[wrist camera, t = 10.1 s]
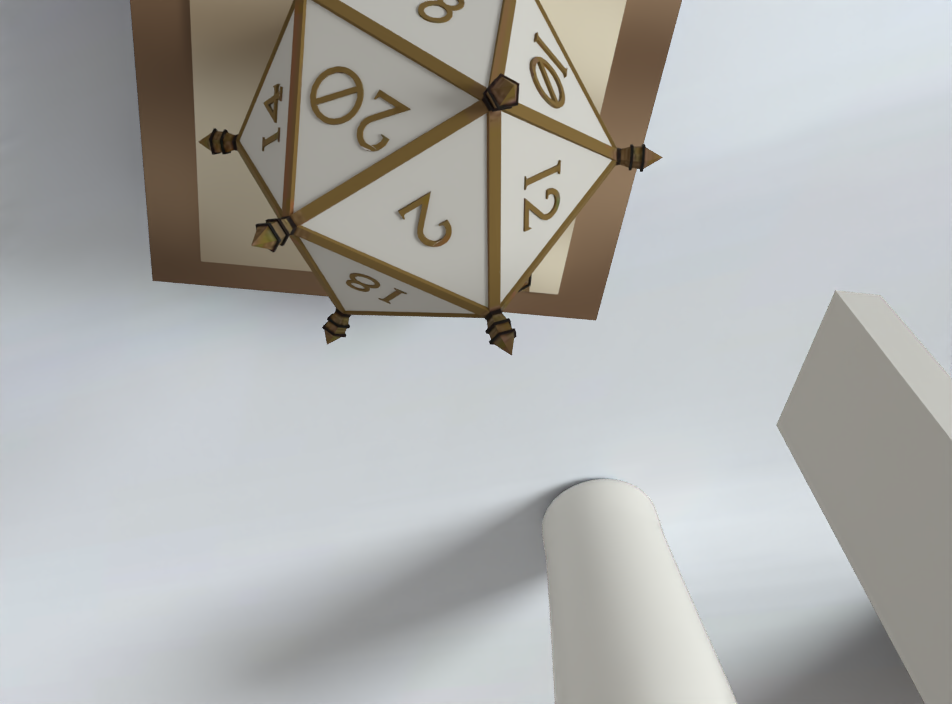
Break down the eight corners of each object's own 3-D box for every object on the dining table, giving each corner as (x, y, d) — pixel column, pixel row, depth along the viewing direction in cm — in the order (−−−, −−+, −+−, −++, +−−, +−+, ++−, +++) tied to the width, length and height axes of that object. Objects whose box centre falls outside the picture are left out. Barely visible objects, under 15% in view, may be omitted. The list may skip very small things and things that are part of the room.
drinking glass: (601, 580, 43) (678, 915, 31) (495, 528, 40) (531, 872, 28) (699, 499, 40) (826, 834, 28) (590, 437, 37) (678, 777, 25)
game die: (357, 75, 25) (52, 206, 18) (505, -205, 19) (119, -164, 12) (569, 300, 25) (338, 517, 18) (791, 93, 18) (563, 308, 12)
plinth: (587, 253, 32) (621, 353, 27) (167, 211, 30) (117, 310, 25) (706, -230, 23) (791, -221, 18) (132, -334, 21) (43, -357, 16)
